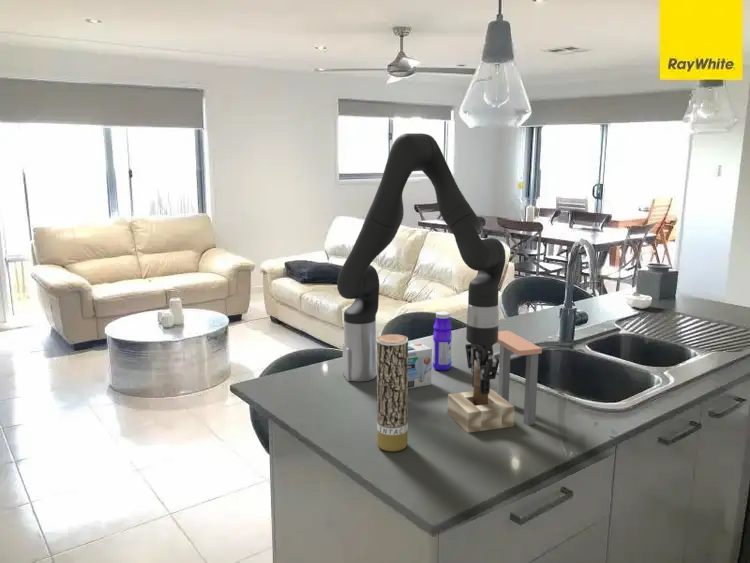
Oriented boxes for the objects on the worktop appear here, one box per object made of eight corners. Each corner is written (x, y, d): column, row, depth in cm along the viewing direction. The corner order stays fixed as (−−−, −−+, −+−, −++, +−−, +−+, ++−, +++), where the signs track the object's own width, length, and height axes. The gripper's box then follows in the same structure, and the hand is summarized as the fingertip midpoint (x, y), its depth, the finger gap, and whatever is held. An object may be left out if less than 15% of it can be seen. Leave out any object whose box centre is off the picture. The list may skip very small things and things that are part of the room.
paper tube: (376, 439, 141) (375, 334, 136) (405, 438, 141) (405, 333, 136) (378, 453, 134) (378, 343, 129) (409, 452, 135) (410, 342, 130)
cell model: (637, 312, 255) (638, 296, 253) (618, 305, 266) (619, 290, 265) (657, 310, 257) (659, 294, 256) (638, 304, 269) (639, 288, 267)
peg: (490, 408, 149) (491, 361, 147) (477, 410, 148) (478, 362, 146) (483, 403, 153) (485, 356, 151) (470, 404, 152) (471, 358, 150)
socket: (467, 432, 144) (468, 412, 143) (447, 412, 155) (447, 394, 154) (513, 426, 147) (514, 406, 146) (490, 407, 159) (491, 388, 158)
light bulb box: (399, 391, 170) (400, 353, 168) (388, 383, 176) (388, 347, 174) (432, 384, 175) (433, 348, 173) (420, 377, 181) (420, 342, 179)
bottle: (450, 372, 185) (451, 316, 181) (431, 371, 186) (432, 315, 182) (452, 364, 192) (453, 310, 188) (434, 363, 193) (434, 309, 189)
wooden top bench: (515, 427, 147) (519, 350, 143) (485, 402, 162) (487, 332, 158) (538, 424, 148) (541, 348, 144) (505, 400, 163) (508, 330, 159)
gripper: (511, 328, 141) (508, 399, 144) (483, 314, 154) (481, 379, 158) (481, 331, 139) (479, 403, 142) (455, 316, 152) (454, 382, 155)
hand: (480, 390), depth 150 cm, fingers closed on peg, 3 cm apart
